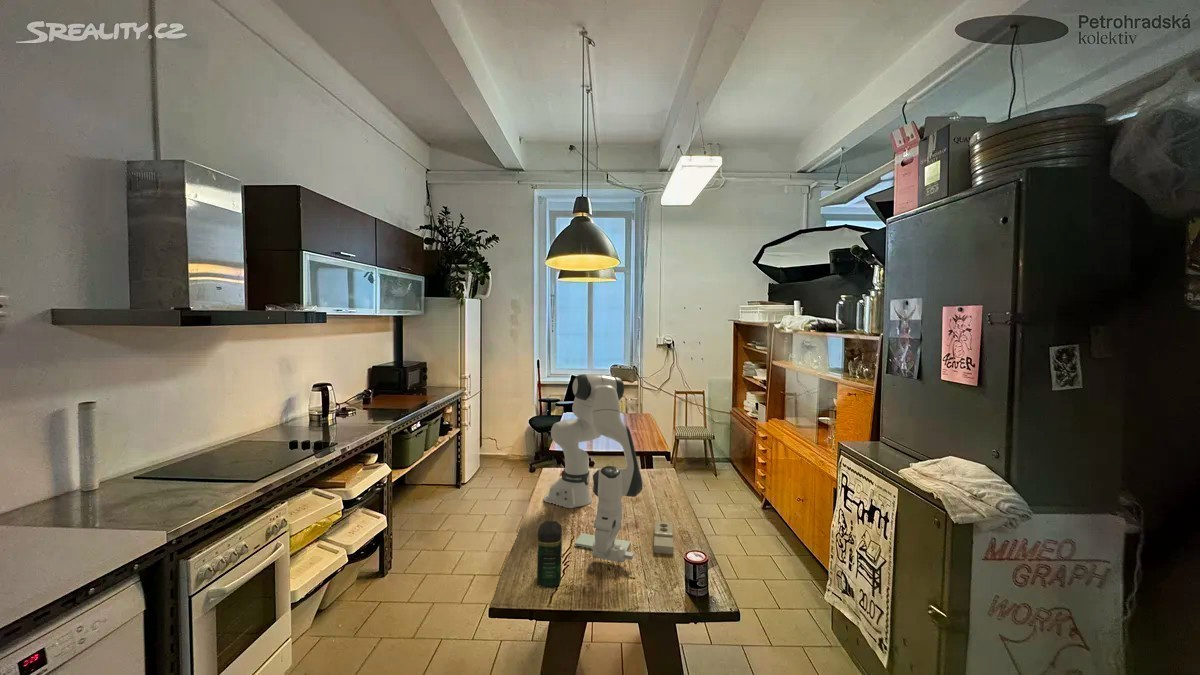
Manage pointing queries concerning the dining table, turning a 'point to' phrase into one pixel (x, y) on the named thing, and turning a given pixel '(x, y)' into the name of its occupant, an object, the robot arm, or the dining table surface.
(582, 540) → the sage board
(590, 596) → the dining table surface
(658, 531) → the electrical outlet
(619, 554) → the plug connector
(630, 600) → the dining table surface
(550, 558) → the coffee jar
